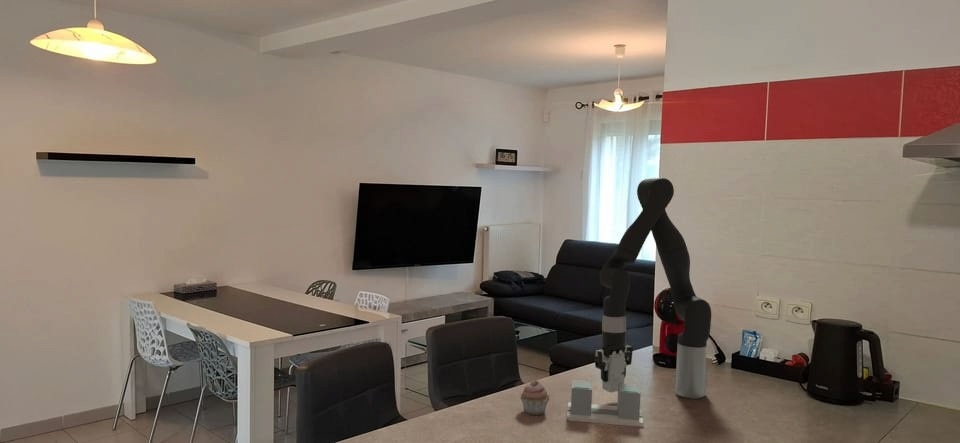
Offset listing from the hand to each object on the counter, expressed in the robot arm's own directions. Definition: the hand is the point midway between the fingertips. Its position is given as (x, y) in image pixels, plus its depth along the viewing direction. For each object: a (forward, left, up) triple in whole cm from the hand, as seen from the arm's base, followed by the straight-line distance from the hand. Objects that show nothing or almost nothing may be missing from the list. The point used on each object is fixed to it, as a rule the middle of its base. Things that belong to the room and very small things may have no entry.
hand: (613, 379), depth 202 cm
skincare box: (0, 0, -3) cm, 3 cm away
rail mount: (+10, +10, -7) cm, 16 cm away
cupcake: (+28, -1, -7) cm, 29 cm away
